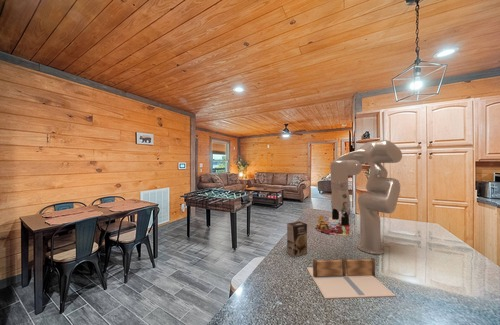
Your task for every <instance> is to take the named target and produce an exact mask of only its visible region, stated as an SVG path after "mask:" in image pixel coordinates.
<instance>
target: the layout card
mask: <svg viewBox="0 0 500 325" xmlns="http://www.w3.org/2000/svg"><path fill="white" fill-rule="evenodd" d="M306 270H307V272H308V273H309V275H310V277H311V278H312V280H313V282H314V283H315V286H316V287H317V288H318V290H319V292H320V293H321V295H322V296H323V299H324V300H333V299H334V300H335V299H337V300H338V299H340V300H341V299H365V298H367V299H368V298H370V299H371V298H394V297H397V296H396V294H395V293H394V292H392V291H391V290H390V289H389V288H388V287H386V286H385V285H384V284H383V283H382V282H381V281H379V280H378V278H376V277H375V275H347V274H346V276H343V275H342V276H317V277H314V276H313V266H312V267H310V266H308V267H306Z"/></svg>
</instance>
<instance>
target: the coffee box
mask: <svg viewBox="0 0 500 325" xmlns="http://www.w3.org/2000/svg"><path fill="white" fill-rule="evenodd" d="M286 225H287V226H286V228H287V229H286V230H287V231H286V232H287V233H286V243H287V244H286V248H287V249H286V253H288V254H289V255H290V256H292V257H293V258H296V257H300V256H304V255H307V254H308V223H305V222H302V221H294V222H289V223H286Z"/></svg>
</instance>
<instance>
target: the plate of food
mask: <svg viewBox="0 0 500 325" xmlns="http://www.w3.org/2000/svg"><path fill="white" fill-rule="evenodd" d="M317 221H318V223H317V225H316V226H315V227H316V228H317V229H316V228H315V229H316V230H317V231H319V232H320V233H324V234H325V233H326V234H325V235H327V234H328V235H332V234H337V235H336V236H338V235H341V236H340V237H350V236H349V235H351V234H350V233H351V232H352V231H353V230H352V229H351V224H350V223H349V226H342V225H341V220H340V219H332V216H331V217H325V218H324V215H319V216H318V219H317ZM331 225H332V226H331ZM335 226H336V227H335ZM335 228H336V229H335ZM350 229H351V230H352V231H351V230H350ZM343 230H344V231H343ZM351 236H352V235H351Z"/></svg>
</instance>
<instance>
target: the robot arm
mask: <svg viewBox="0 0 500 325" xmlns="http://www.w3.org/2000/svg"><path fill="white" fill-rule="evenodd" d="M402 158H403V153H402V150H401V149H400V148H399V147H398V146H397V145H396V144H395V143H393V142H392V141H390V140H387V139H382V140H376V141H375V140H374V141H367V142H366V143H364V144H363V145H361V146H360V147H359V148H357V149H356V150H354V151H351V152H348V153H345V154H342V155H340V156H338V157H336V158H335V159H334V160H332V161H331V162H330V189H331V200H330V204H331V217H332V219H338V220H340V219H341V220H340V222H341V225H342V226H349V224H350V215H351V210H352V209H351V198H350V192H349V176H357V175H359V174H360V173H361V172H362V171H363V166H362V165H365V164H367V163H368V165H369V168H370V172H369V175H368V178H367V181H366V185H365V190H366V191H367V192H362V193H360V194H359V195H358V197H357V204H358V208H359V222H360V223H359V225H360V226H359V228H360V230H359V231H360V242H359V243H358V244H357V249H358V250H360V251H362V252H363V253H366V254H370V255H383V254H385V249H384V248H389V247H390V243H388V242H385V243H384V241H381V240H382V239H381V218H380V215H379V214H378V213H383V214H393V213H394V212H395V210H396V207H397V204H398V200H399V197H400V193H401V183H400V180H398V179H397V178H393V177H388V174H389V172H388V170H387V168H386V167H384V165H382V164H396V163H399V162H401V161H402ZM340 213H341V218H340Z"/></svg>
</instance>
